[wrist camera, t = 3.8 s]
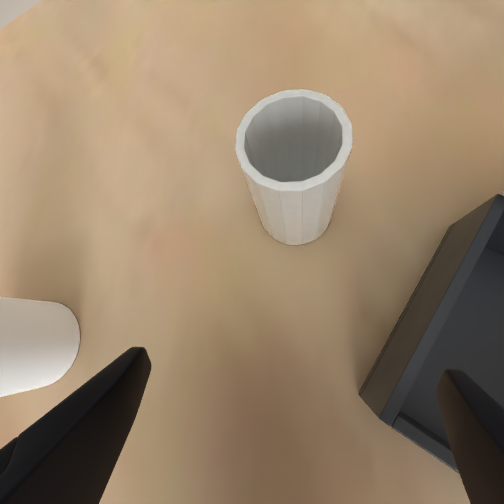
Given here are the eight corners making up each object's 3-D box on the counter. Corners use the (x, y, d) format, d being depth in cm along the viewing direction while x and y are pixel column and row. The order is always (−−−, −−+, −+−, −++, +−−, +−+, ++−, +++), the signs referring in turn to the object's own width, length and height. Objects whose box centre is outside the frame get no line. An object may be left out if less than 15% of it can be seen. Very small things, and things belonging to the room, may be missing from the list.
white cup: (274, 256, 24) (256, 208, 14) (250, 194, 26) (221, 115, 16) (343, 229, 24) (373, 162, 14) (315, 169, 25) (324, 72, 16)
